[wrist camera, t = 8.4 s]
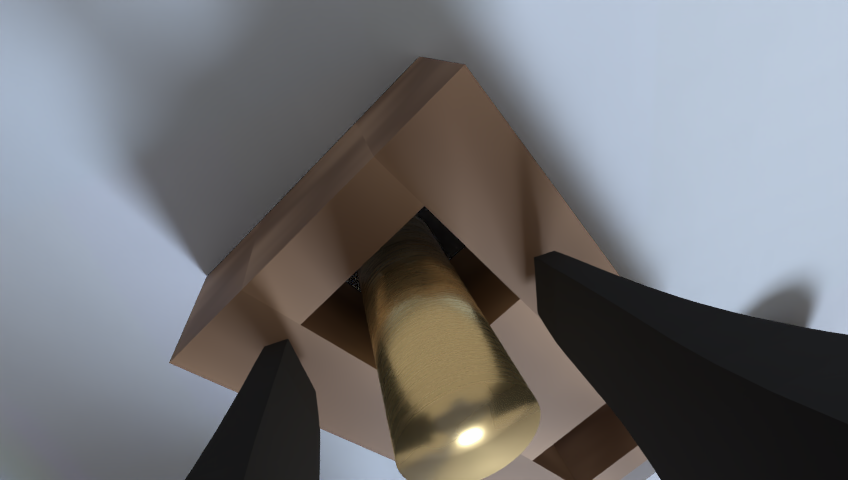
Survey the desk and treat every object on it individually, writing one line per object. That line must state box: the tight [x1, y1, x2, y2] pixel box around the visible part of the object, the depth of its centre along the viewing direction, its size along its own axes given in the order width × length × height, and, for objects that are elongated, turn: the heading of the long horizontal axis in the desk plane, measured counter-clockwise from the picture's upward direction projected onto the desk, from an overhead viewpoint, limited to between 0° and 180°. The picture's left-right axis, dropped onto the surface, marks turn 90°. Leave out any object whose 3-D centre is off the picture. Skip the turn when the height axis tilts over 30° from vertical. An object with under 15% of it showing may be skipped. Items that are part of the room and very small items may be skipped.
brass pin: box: [357, 215, 541, 480], centre depth 11 cm, size 3×3×8 cm
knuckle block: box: [169, 57, 648, 480], centre depth 16 cm, size 10×20×4 cm, turn 41°
